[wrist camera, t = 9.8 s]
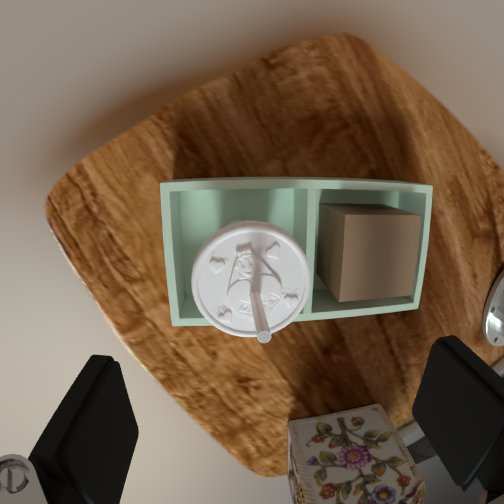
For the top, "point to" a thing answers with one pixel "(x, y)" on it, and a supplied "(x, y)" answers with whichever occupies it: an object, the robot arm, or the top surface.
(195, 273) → the white cup
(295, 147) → the top surface
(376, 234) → the walnut block
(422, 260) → the tote
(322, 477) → the decorative jar
